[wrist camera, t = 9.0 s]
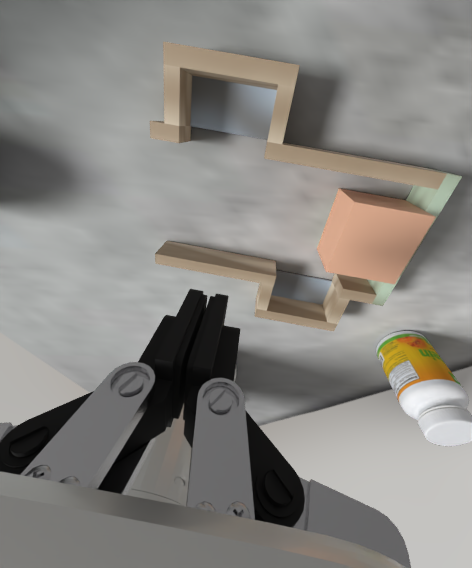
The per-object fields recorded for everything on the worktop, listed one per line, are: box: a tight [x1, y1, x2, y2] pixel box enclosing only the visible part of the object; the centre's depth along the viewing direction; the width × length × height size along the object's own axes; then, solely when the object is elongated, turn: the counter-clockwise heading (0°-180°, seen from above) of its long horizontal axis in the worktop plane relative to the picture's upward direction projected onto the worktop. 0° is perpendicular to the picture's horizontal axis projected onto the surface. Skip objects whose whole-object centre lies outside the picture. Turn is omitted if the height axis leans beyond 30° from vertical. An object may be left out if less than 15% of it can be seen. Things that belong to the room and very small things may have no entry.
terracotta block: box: [317, 188, 436, 284], centre depth 20 cm, size 6×6×4 cm
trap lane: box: [150, 42, 462, 331], centre depth 20 cm, size 19×21×3 cm
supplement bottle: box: [376, 331, 472, 446], centre depth 24 cm, size 5×5×10 cm
